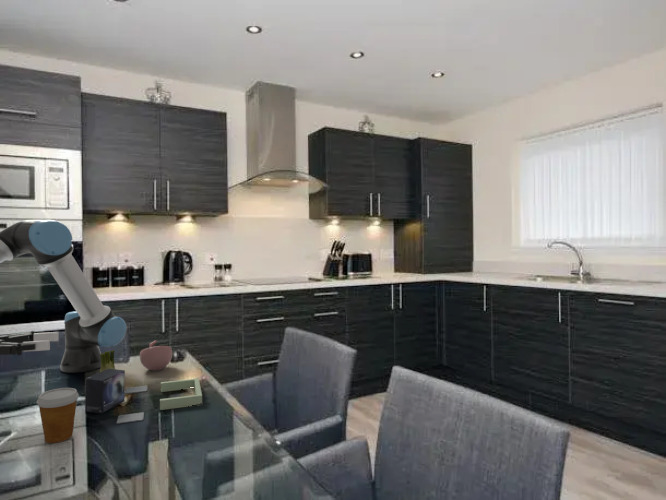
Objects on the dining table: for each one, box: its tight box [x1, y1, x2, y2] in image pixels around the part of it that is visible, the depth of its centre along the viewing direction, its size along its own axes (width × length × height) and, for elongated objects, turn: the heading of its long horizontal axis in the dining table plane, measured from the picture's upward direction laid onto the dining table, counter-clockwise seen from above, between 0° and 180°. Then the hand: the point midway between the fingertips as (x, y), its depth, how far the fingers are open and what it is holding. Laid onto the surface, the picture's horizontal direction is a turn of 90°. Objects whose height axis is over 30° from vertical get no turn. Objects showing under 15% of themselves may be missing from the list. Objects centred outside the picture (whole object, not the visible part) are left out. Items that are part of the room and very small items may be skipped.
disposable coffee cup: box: [36, 387, 80, 444], centre depth 117 cm, size 10×10×12 cm
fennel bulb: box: [99, 350, 116, 373], centre depth 158 cm, size 6×5×12 cm
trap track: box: [116, 378, 203, 425], centre depth 144 cm, size 30×24×3 cm
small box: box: [84, 368, 126, 414], centre depth 138 cm, size 11×6×10 cm, turn 168°
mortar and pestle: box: [139, 340, 173, 371], centre depth 175 cm, size 12×12×12 cm
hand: (54, 340), depth 133 cm, fingers open, 10 cm apart
